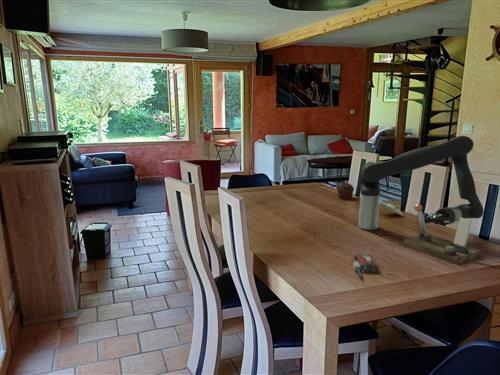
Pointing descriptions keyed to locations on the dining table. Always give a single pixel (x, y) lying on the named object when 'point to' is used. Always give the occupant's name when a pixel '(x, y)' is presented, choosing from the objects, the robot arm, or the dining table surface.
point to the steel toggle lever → (421, 219)
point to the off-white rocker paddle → (462, 232)
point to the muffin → (345, 191)
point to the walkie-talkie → (364, 264)
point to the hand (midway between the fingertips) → (422, 221)
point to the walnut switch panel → (442, 248)
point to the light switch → (390, 207)
